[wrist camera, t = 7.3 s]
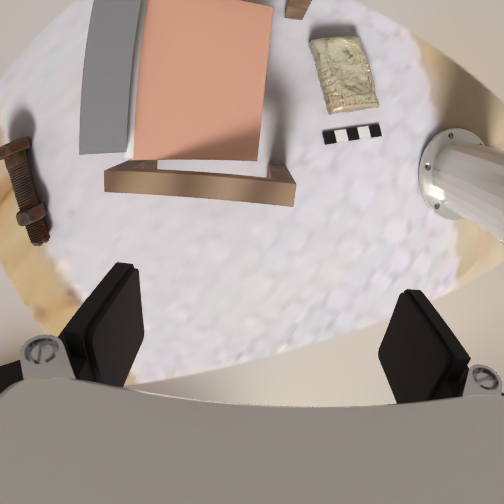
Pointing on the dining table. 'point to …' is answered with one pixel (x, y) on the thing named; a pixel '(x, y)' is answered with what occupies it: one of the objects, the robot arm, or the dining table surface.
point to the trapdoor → (175, 79)
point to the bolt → (25, 190)
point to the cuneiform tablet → (345, 83)
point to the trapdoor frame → (203, 183)
